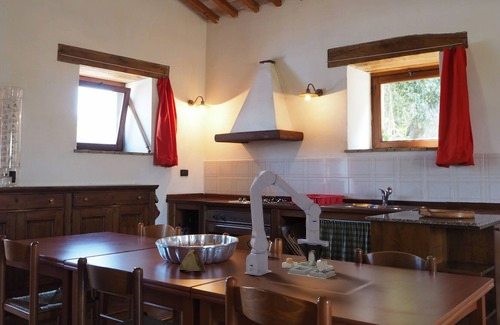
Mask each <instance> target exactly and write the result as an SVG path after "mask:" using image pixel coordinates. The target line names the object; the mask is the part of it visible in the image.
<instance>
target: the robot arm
mask: <svg viewBox="0 0 500 325" xmlns="http://www.w3.org/2000/svg"><path fill="white" fill-rule="evenodd" d="M270 186H274V187H275V186H276V187H278V188H279V189H281V190H282V191H283V192H284V193H286V194H287V195H288V196H290V197H291V201H292V202H293V203H294V204H295V205H296V206H297V207H298V208H300V209H301V210H302V211H304V213H305V216H306V220H305V227H306V228H305V229H306V231H305V232H306V233H305V234H306V235H305V238H306V239H304V238H299V239H297V244H298V245H300V244H301V245H300V246H301V249H302V250H303V252H304V255H305V260H306V262H308V251H312V246H313V249H314V251H315V261H316V262H317V260H319V259H321V256H322V253H323V251H324V249H325V247H329V241H326V240H321V239H320V215H321V214H322V209H321V207H320V205H319V203H314V202H315V201H314V199H311V198H309V196H307V195H306V194H307V193H305V192H304V191H303V192H302V191H297V190H295V189H294V187H292V186H291V184H289V183H288V182H287V181H286V180H284V178H282V176H280V175H278V174H276V173H274V171H272V170H262V171H261V170H260V171H259V173H257V174H256V175H255V176H254V180H253V181H252V183H251V185H250V187H249V199H250V200H249V201H250V212H251V225H252V226H251V227H252V231H251V238H250V240H251V241H249V243H250V247H251V248H252V249H250V253H249V254H247V255H246V260H245V272H244V275H245V274H247V275H254V276H259V277H260V276H262V275H266V274H268V273H272V272H273V271H272V270H269V264H268V261H269V258H268V257H269V248H268V246H270V243H269V244H268V241H267V239H266V236H267V235H266V231H265V224H264V212H263V211H264V210H263V200H262V199H263V198H262V193H263V192H264V191H265V190H266V188H269V187H270ZM267 249H268V251H267Z"/></svg>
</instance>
